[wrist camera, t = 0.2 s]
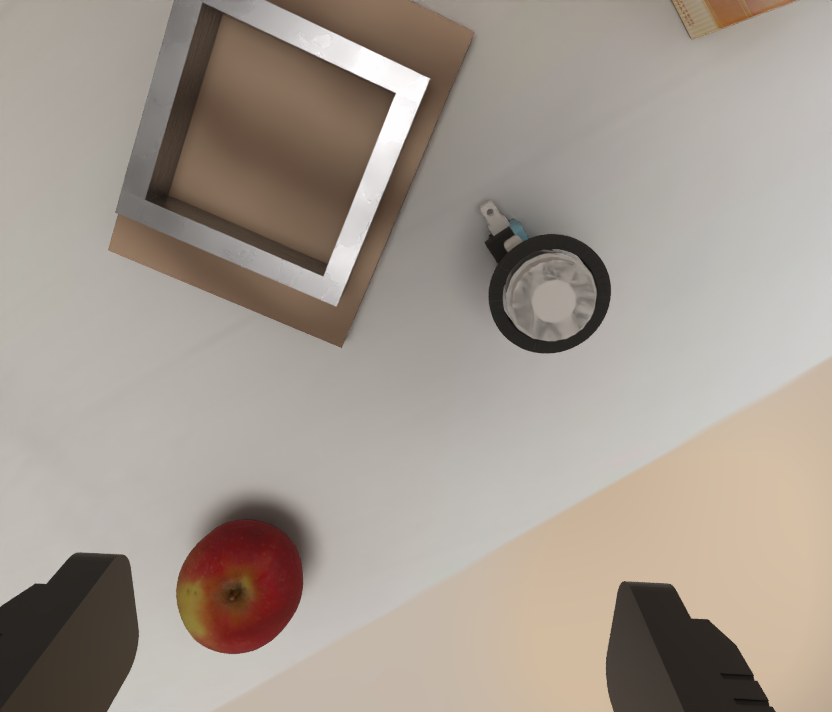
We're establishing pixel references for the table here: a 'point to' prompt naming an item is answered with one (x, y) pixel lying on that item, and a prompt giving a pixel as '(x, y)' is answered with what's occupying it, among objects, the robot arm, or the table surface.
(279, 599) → the apple
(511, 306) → the push button
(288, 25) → the socket
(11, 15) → the table surface
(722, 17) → the coffeecake box
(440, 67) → the mounting board
